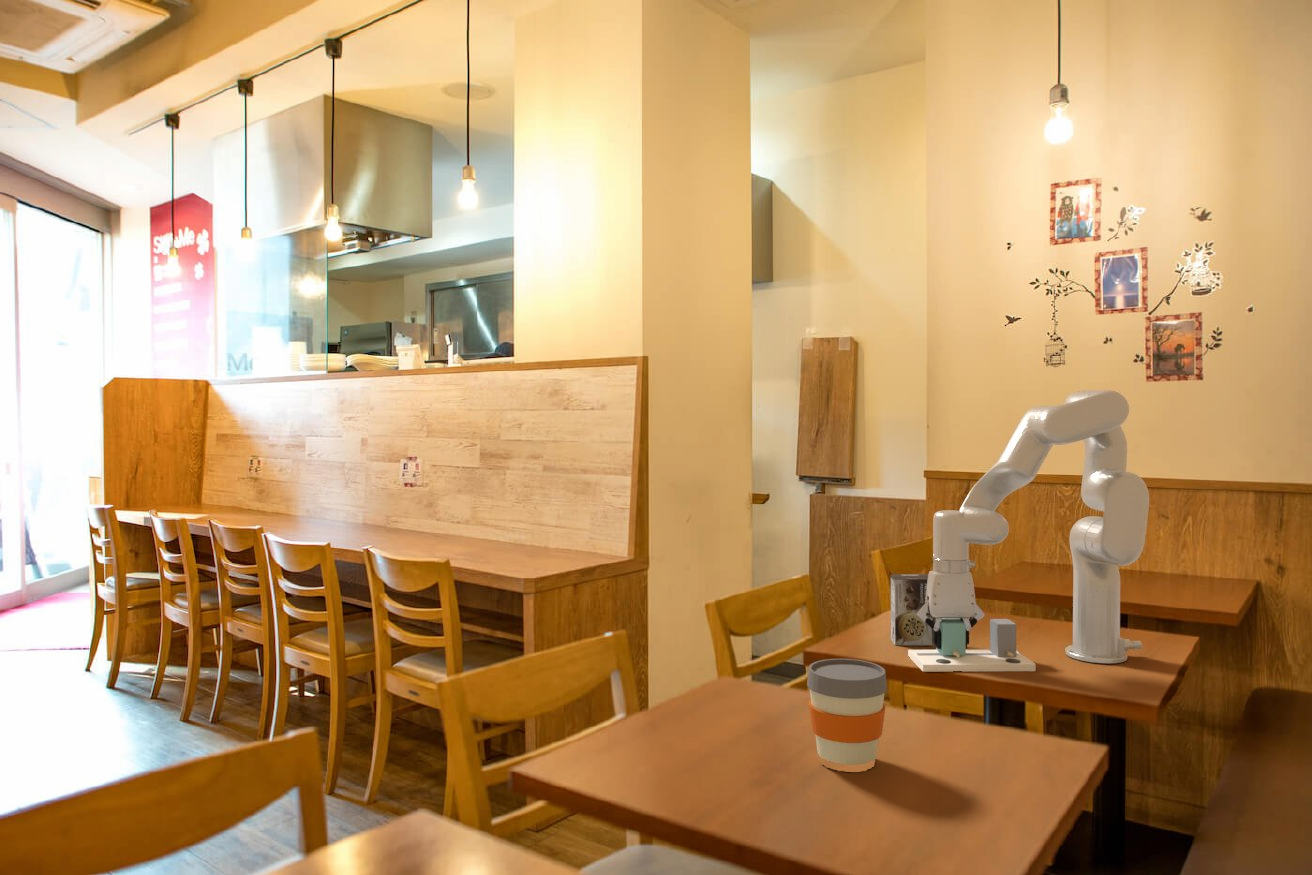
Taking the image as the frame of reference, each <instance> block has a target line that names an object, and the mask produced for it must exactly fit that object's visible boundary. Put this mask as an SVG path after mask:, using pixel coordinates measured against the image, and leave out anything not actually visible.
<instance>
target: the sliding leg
mask: <svg viewBox="0 0 1312 875" xmlns="http://www.w3.org/2000/svg"><path fill="white" fill-rule="evenodd" d="M939 628H940V631H941V649H937V648H936V647H935V650H937V651H939V652H940V653H941V654H942V655H955V656H957V657H960V655H966V623H964V622H963V621H961V620H960V618H942V621H941V624H940V627H939Z"/></svg>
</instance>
